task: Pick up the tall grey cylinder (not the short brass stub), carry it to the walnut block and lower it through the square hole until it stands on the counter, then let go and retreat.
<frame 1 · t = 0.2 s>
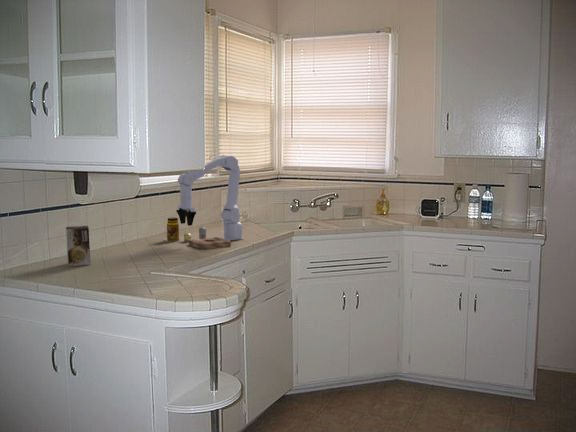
hand: (186, 224, 325), 10 cm above the worktop, tool pointing down, fingers open, 7 cm apart
short stub: (187, 241, 332), on the worktop
grey cylinder: (202, 241, 334), on the worktop
coffee box: (78, 264, 276), on the worktop
condiment: (172, 241, 335), on the worktop
hole block: (209, 245, 322), on the worktop
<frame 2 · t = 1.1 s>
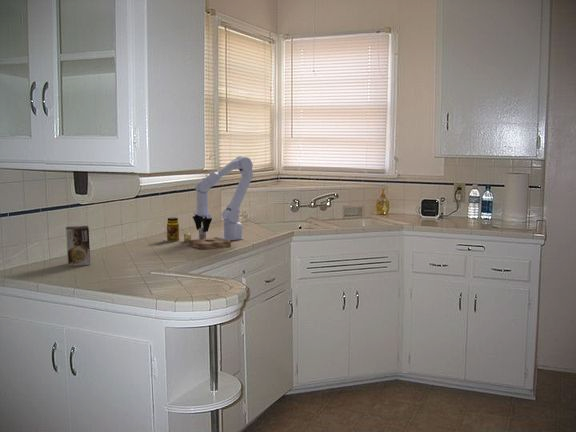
hand: (202, 230, 333), 6 cm above the worktop, tool pointing down, fingers open, 7 cm apart
nothing on the worktop moved.
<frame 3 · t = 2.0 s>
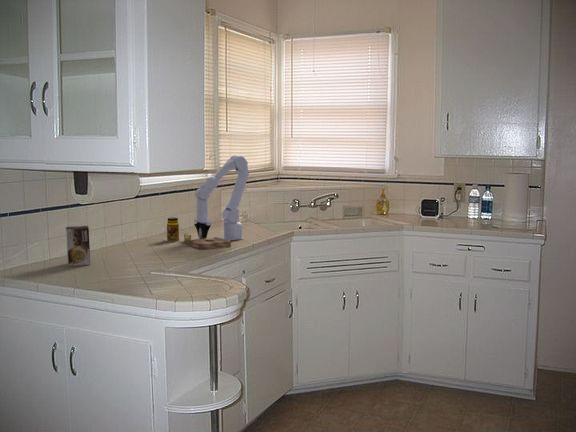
hand: (202, 237, 334), 2 cm above the worktop, tool pointing down, fingers closed on grey cylinder, 4 cm apart
grey cylinder: (202, 241, 334), on the worktop, touching gripper
everything else where it was.
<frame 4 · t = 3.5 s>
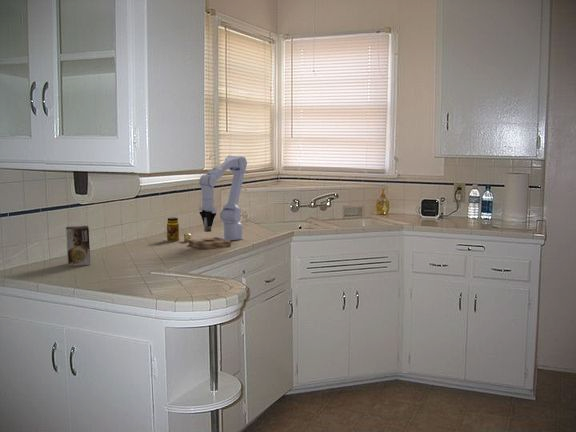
hand: (207, 226, 323), 9 cm above the worktop, tool pointing down, fingers closed on grey cylinder, 4 cm apart
grey cylinder: (207, 231, 323), point 7 cm above the worktop, touching gripper
everything else where it was.
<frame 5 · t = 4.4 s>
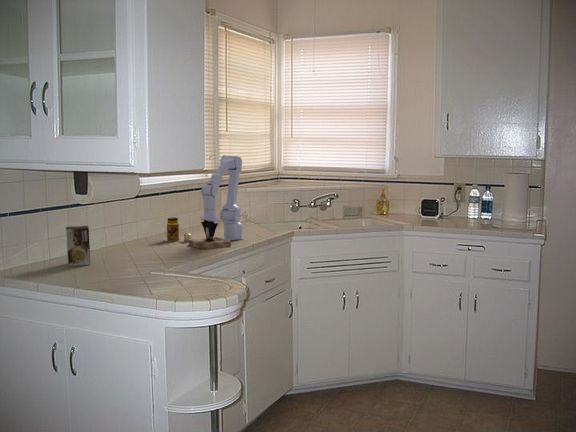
hand: (209, 236, 321), 5 cm above the worktop, tool pointing down, fingers closed on grey cylinder, 4 cm apart
grey cylinder: (209, 241, 322), point 2 cm above the worktop, touching gripper
everything else where it was.
when the fingers open (3 cm above the worktop, at t = 5.1 s): grey cylinder stays where it is, resting in hole block.
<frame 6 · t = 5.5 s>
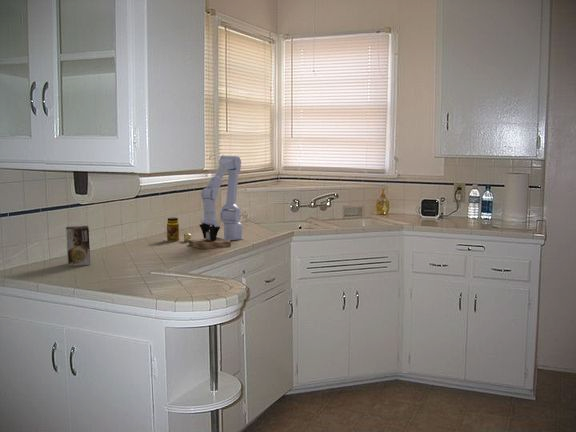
hand: (209, 239, 321), 3 cm above the worktop, tool pointing down, fingers open, 7 cm apart
grey cylinder: (209, 245, 322), resting in hole block
everything else where it was.
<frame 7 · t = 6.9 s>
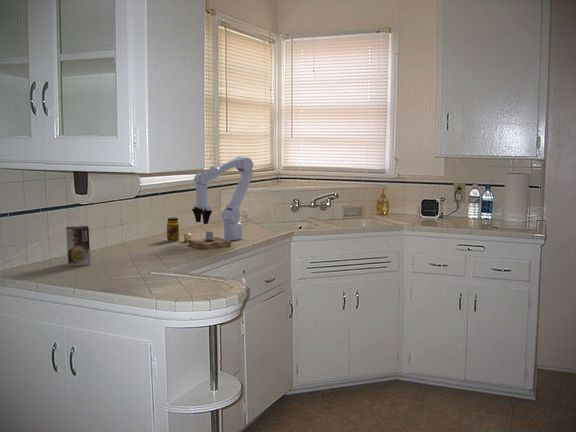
hand: (202, 223, 330), 10 cm above the worktop, tool pointing down, fingers open, 7 cm apart
nothing on the worktop moved.
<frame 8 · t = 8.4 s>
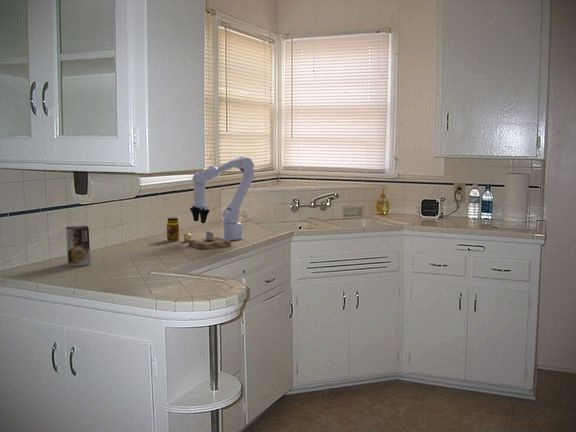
hand: (199, 222, 333), 10 cm above the worktop, tool pointing down, fingers open, 7 cm apart
nothing on the worktop moved.
at the end: grey cylinder 0.0 cm off-centre on the hole block, point 0.0 cm above the hole block's base; grey cylinder tilted 0°; the gripper is holding nothing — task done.
